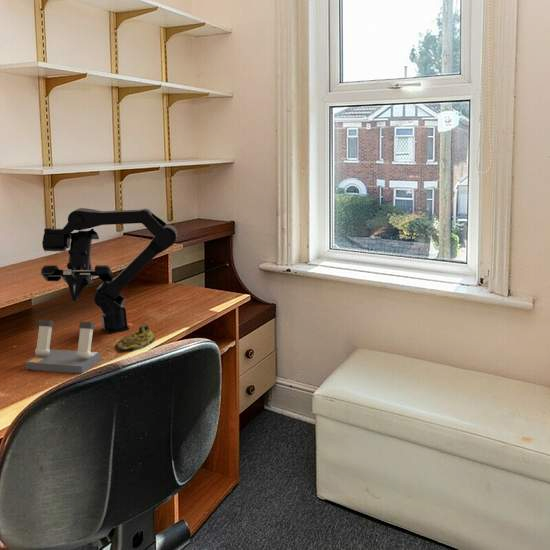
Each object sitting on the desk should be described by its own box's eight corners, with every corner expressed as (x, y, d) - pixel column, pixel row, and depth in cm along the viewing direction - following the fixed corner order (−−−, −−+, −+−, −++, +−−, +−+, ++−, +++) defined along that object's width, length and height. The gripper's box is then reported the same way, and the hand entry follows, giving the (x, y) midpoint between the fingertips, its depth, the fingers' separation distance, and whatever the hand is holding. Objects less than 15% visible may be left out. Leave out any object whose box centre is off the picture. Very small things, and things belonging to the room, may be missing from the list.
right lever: (79, 357, 144) (83, 322, 146) (90, 358, 144) (94, 323, 145) (75, 357, 143) (79, 321, 144) (86, 358, 142) (91, 322, 143)
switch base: (47, 355, 151) (46, 348, 151) (101, 359, 148) (100, 352, 147) (26, 369, 143) (25, 361, 142) (82, 373, 139) (81, 365, 139)
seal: (138, 358, 152) (162, 338, 166) (138, 342, 150) (162, 323, 164) (107, 352, 154) (133, 332, 168) (107, 336, 152) (134, 318, 166)
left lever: (38, 354, 147) (43, 320, 148) (49, 355, 146) (53, 320, 148) (34, 354, 145) (39, 319, 147) (45, 355, 145) (49, 320, 146)
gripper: (118, 262, 171) (114, 310, 165) (55, 262, 169) (49, 311, 163) (110, 246, 160) (106, 297, 154) (43, 246, 159) (36, 298, 153)
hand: (74, 301), depth 157 cm, fingers closed
